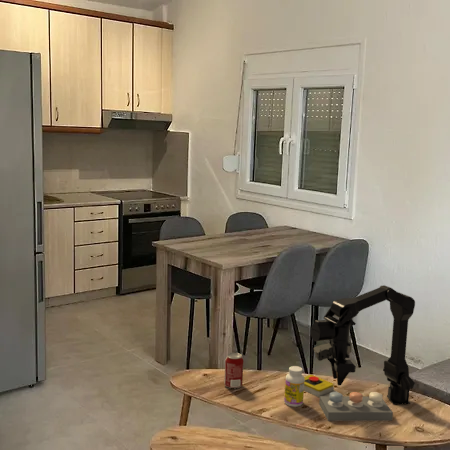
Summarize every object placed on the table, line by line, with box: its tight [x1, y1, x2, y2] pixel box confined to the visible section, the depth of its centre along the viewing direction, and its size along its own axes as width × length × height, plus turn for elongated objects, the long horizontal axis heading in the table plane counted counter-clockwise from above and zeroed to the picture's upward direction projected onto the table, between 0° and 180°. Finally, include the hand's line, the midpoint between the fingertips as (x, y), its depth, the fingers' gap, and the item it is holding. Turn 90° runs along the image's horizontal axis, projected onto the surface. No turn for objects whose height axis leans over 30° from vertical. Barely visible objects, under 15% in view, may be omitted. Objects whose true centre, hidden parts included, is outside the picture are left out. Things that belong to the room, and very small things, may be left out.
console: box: [318, 395, 394, 422], centre depth 200 cm, size 22×12×3 cm, turn 95°
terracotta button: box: [348, 391, 364, 403], centre depth 200 cm, size 4×4×2 cm
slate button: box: [329, 391, 344, 403], centre depth 199 cm, size 4×4×2 cm
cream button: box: [369, 391, 384, 403], centre depth 200 cm, size 4×4×2 cm
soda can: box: [223, 352, 244, 390], centre depth 217 cm, size 7×7×12 cm
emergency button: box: [304, 374, 338, 399], centre depth 218 cm, size 9×4×15 cm
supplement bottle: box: [283, 365, 305, 408], centre depth 205 cm, size 7×7×13 cm
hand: (337, 381), depth 198 cm, fingers open, 5 cm apart
